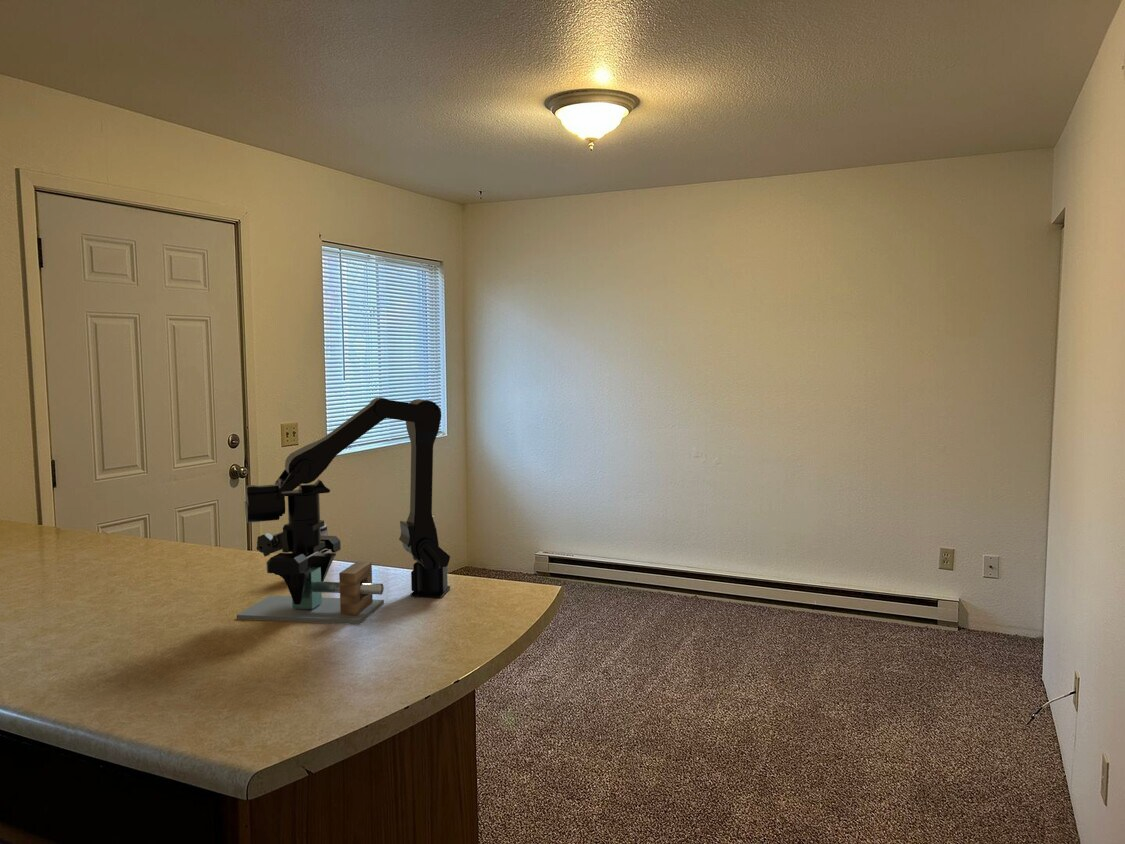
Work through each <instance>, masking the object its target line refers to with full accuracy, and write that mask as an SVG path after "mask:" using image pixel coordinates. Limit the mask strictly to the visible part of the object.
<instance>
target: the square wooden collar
mask: <svg viewBox="0 0 1125 844" xmlns="http://www.w3.org/2000/svg"><path fill="white" fill-rule="evenodd" d="M372 565H373V564H372V561H356V562H355V563H353V564H351V565H349V566H348V567H346V568H345V569H344V570H342V571H340V572H339V573H338V574H339V577H338V579H339V582H340V593H339V598H340V612H341V616H357V615H358V614H359V613H361V612H362V611H363V610H364V609H366V608H367V607H368V606H369V605H370V604H372V603H373V599H374V598H373V595H374V594H360V583H373V566H372Z"/></svg>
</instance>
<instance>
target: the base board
mask: <svg viewBox="0 0 1125 844" xmlns="http://www.w3.org/2000/svg"><path fill="white" fill-rule="evenodd" d="M384 604H385V599H376V598H375V599H374V598H373V603H372V604H370V605H369V606H368V607H367V608H366V609H364V610H363V611H362V612H361V613H359V614H358V615H357V616H341V612H340V597H322V603H320V604H319V605H318V606H316V607H315V608H313V609H297V608H292V597H291V595H272V594H271V595H268V596H266V597H265V598H262V599H261V600H259V601H258V602H256V603H253V605H251V606H249V607H248V608H246V609H244V610H243V611H240V612H239V613H237V614H236V620H246V621H247V620H251V621H252V620H253V621H275V622H292V623H293V622H294V623H295V622H297V623H321V624H342V625H343V624H344V625H361V624H362V623H363V622H364V621H366V619H368V618H369V617H370V616H371V615H373V614H374V613H375V612H376V611H377V610H379V609H380V608H381V607H382V606H383V605H384Z"/></svg>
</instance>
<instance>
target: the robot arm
mask: <svg viewBox="0 0 1125 844" xmlns="http://www.w3.org/2000/svg"><path fill="white" fill-rule="evenodd" d="M386 419H388V420H389V419H391V420H398V421H404V422H405V426H406V431H407V435H408V438H409V441H410V449H411V450H410V493H409V494H410V495H409V497H410V501H409V502H410V504H409V513H408V516H407V519H406V521H404V520H400V521H399V525H400V537H399V538H398V540H399V541H400V542H401V543H402V547H403V549H404V550H405V551H406V552H407V553H408V554H410V555H411V556H412V559H413V561H416V562H415V563H413V568H412V569H413V570H411V571H410V578H411V579H410V580H411V582H410V584H411V585H410V586H411V591H412V592H411V594H410V596H411V597H419V598H420V597H424V598H425V597H426V598H442V597H444V595H445V594H447V592H449V590H450V589H451V586H450V585H448V566H449V563H450V560H451V556H450V555H449V554H448V553H447V552H445V550H443V549H442V548H441V547H440V545H439V537H438V531H437V527H436V523H435V521H434V517H433V471H434V470H433V469H434V468H433V467H434V464H433V463H434V444H435V441H436V439H437V436H438V434H439V431H440V425H441V419H442V410H441V408H440V407H439V405H438V404H437V403H436V402H434V401H433V400H427V399H420V398H418V399H417V398H416V399H413V400H410V402H404V401H400V400H399V401H397V400H391V399H389V398H386V397H380V396H379V397H375V398H373V399H372V400H371V401H370V402H369V403H368V404H367V405H365V406H364V407H362V409H360V410H359V411H357V412H356V413H355V414H354V415H351V417H349V418H348V419H347V420H346V421H344V422H343V423H341V424H340V425H339V426H337V427H335V429H334V430H332V431H330V432H329V433H328V434H326V435H325V436H324V437H322V438H321V439H319V440H316V441H314V442H311V443H309V444H306V445H305V446H303V447H301V448H299V449H296V450H295V451H293V452H291V453H290V454H289V455H287V457H286V459H285V461H284V470H283V471H282V473H281V474H280V475H279V476H278V477H277V480H276V481H274V484H266V485H265V484H262V485H255V484H249V485H246V486H245V501H244V511H245V512H244V514H245V515H244V516H245V522H246V523H247V524H248V523H249V524H250V523H259V522H260V523H261V522H271V521H279V520H280V518H281V517H283V516H284V515H285V514H286V498H285V497H287V513H288V514H287V515H288V519H287V520H288V521H287V522H288V523H286V524H283V527H282V532H279V533H275V534H271V533H270V532H266V533H264V534H261V535H259V536H257V541H256V550H257V551H258V552H259V553H261V554H263V556H264V558H265V557H268V556H270V554H273V553H276V552H278V551H281V552H280V553H277V554H275V555H273V556H271V557H270V558H269V559H268V560H267V561H266V573H267V574H274V575H275V576H280V577H281V578H282V579H283V580H284V582H285V584H286V587H287V589H288V592H289V594H290V596H291V597H292V599H293V602H294V604H298V605H299V604H301V601H302V598H303V594H304V591H305V587H306V583H307V579H308V576H309V572H310V569H306V567H307V565H308V564H309V567H321V582H325V579H326V576H327V574H328V572H329V569H330V568H331V565H332V563H333V561H334V559H335V557H336V556H337V552H339V551H340V550H341V545H342V544H341V540H340V539H339V538H338V537H337V535H327V536H321V531H320V527H322V526H324V521H325V520H323V519H321V506H320V504H321V503H320V494H330V492H331V489H330V488H329V487H328V486H326V485H325V484H324V482H323V481H322V480H321V479H319V478H318V477H320V476H321V475H322V474H323V473H324V471H325V470H326V469H327V468H328V467H329V466H330V464H331V463H332V462H333V461H334V459H335V458H336V457H337V456H338V455H339V454H340V453H341V452H342V451H344V450H345V449H346V448H348V447H349V446H350V445H352V444H353V443H354V442H356V441H357V440H358V439H360V438H361V437H362V436H364V435H365V434H367V433H368V432H369V431H370V430H372V429H373V428H374V427H376V426H377V425H378V424H379V423H380V422H382V421H384V420H386ZM315 481H316V482H315ZM312 482H315V483H312ZM330 551H331V552H330Z"/></svg>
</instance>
